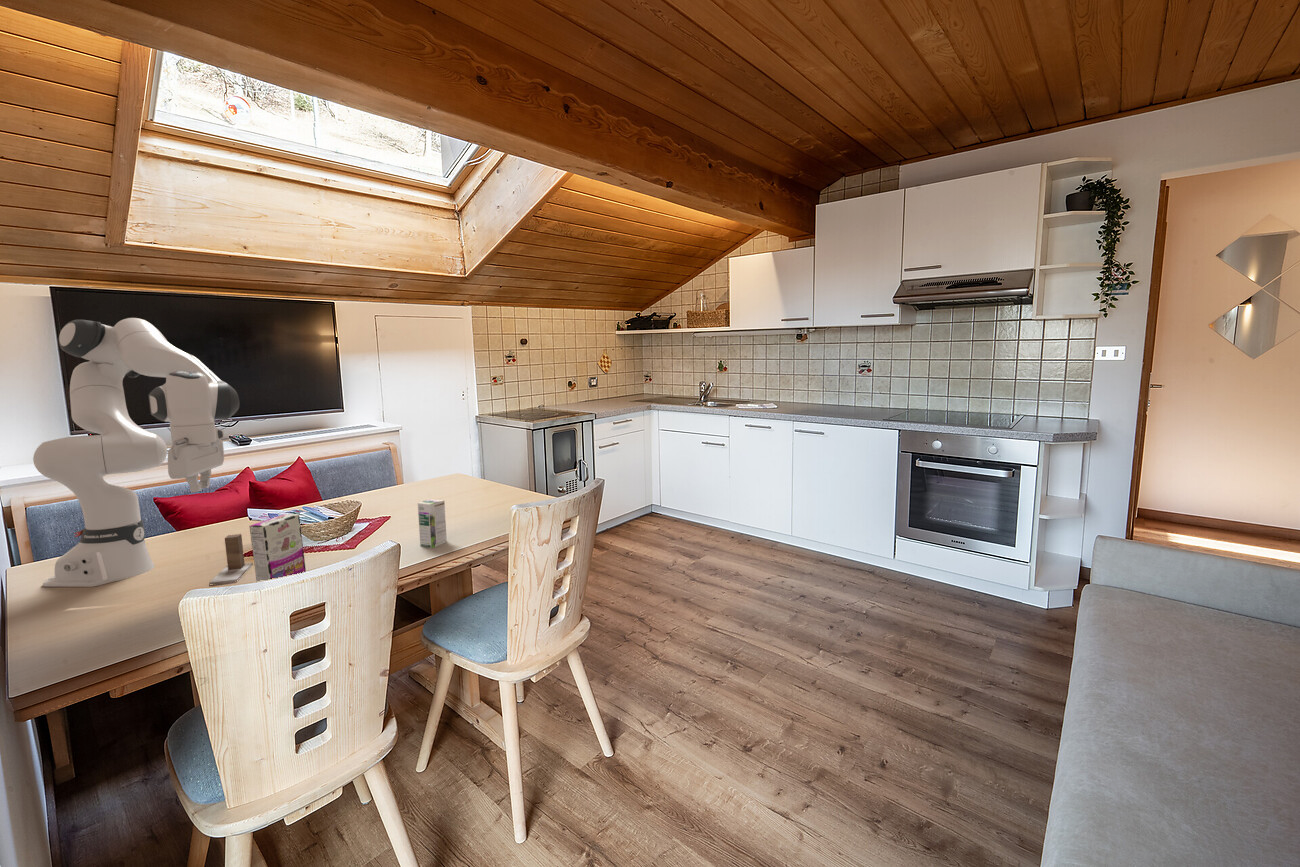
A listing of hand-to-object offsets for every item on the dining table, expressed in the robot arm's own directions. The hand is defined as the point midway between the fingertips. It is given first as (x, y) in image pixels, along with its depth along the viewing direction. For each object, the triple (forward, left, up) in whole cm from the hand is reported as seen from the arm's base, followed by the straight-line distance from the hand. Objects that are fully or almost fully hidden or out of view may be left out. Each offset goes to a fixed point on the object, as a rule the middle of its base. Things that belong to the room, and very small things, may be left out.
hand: (200, 489), depth 143 cm
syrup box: (+51, +20, -25) cm, 60 cm away
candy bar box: (+17, 0, -25) cm, 30 cm away
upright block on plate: (0, +11, -25) cm, 27 cm away
